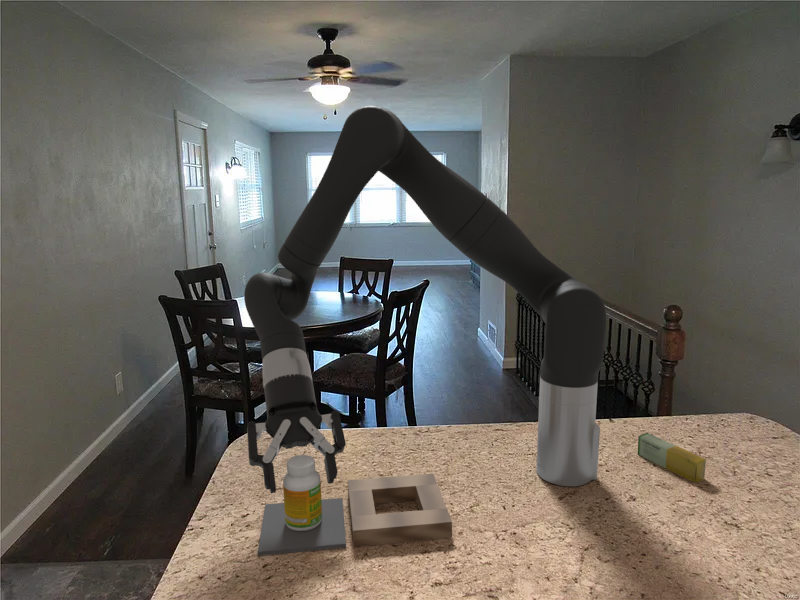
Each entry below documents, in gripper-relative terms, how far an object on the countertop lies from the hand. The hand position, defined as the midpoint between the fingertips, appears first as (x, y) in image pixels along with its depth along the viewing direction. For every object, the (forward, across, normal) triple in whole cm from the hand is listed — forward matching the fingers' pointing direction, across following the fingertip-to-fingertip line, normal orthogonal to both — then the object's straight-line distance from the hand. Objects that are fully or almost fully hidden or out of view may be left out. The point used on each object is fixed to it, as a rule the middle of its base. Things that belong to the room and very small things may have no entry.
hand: (302, 486), depth 84 cm
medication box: (+6, +64, +5) cm, 64 cm away
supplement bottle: (+4, 0, +6) cm, 7 cm away
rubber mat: (+4, 0, +6) cm, 7 cm away
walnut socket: (+5, +14, +5) cm, 16 cm away
